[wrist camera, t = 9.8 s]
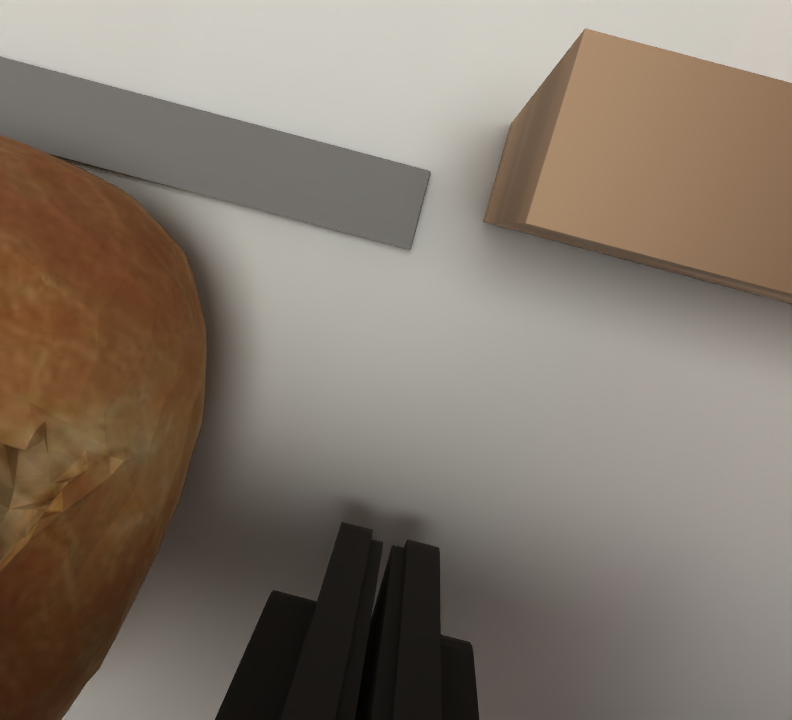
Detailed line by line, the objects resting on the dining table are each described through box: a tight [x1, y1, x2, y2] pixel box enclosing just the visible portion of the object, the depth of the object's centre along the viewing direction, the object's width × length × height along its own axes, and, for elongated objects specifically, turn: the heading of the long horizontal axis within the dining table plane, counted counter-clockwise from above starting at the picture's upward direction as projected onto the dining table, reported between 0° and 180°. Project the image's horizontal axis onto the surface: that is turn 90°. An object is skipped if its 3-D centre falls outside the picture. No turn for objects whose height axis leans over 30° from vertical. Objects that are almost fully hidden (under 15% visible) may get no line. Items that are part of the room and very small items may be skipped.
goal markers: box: [0, 57, 430, 250], centre depth 11 cm, size 10×14×1 cm
